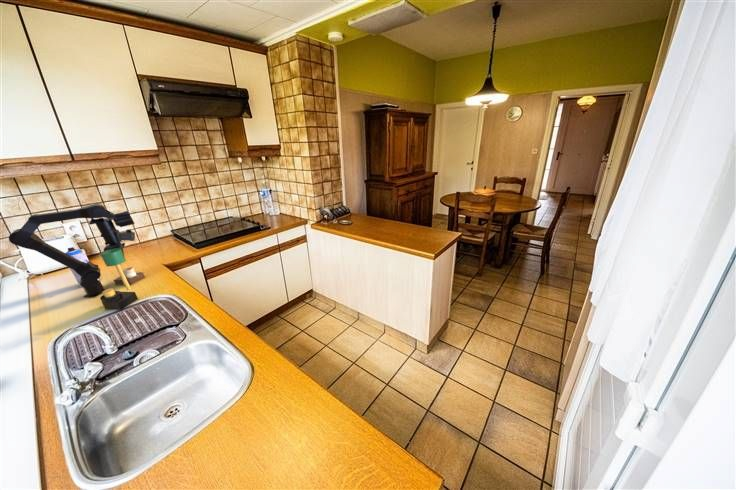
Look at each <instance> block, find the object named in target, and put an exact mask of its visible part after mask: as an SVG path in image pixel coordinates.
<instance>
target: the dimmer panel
mask: <svg viewBox="0 0 736 490" xmlns="http://www.w3.org/2000/svg"><path fill="white" fill-rule="evenodd" d="M135 272H136V275H135V276H133V277H131V278H126V279H127V281H128V283H129V286H133V285H134V284H136V283H137V282H140V281H141V280H142V279H144V278H146V276H145V274H144V272H143V271H135ZM113 282H114V284H115V286H125V285H124V283H123V281H122V279H121V277H120V276H118V277H116V278H114V279H113Z"/></svg>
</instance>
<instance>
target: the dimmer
mask: <svg viewBox="0 0 736 490" xmlns="http://www.w3.org/2000/svg"><path fill="white" fill-rule="evenodd" d="M122 271H123V273H124V275H125V277H126V278H131V277H133V276H135V275H136V272H137V271H136V269H135V268H134V267H133V266H130V267H126V268H123V269H122Z"/></svg>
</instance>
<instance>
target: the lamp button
mask: <svg viewBox="0 0 736 490" xmlns="http://www.w3.org/2000/svg"><path fill="white" fill-rule="evenodd" d="M106 289H107V290H105V291H103V292H102V296H103V295H104V297H105V298H108V297H111V296H114V295H115V294H116V293H115V291H116V290H115V289H114V288H106Z"/></svg>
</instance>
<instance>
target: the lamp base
mask: <svg viewBox="0 0 736 490" xmlns="http://www.w3.org/2000/svg"><path fill="white" fill-rule="evenodd" d="M114 291H115V293H116V294H115V295H114V296H111V297H108V298H105V297H104V295H103V294H102V295H101V296H100V297H99V299H100V301H101V305H102V306H103V308H104V310H105V311H108V310H109V311H111V310H112V311H113V310H114V311H115V310H116V311H123V310H125V309H126V308H127V307H128V306H130V305H131V304H133V303H134V302H136V301H137V300H139V298H138V296H137V294H136V292H135V291H120V290H114Z"/></svg>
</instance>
